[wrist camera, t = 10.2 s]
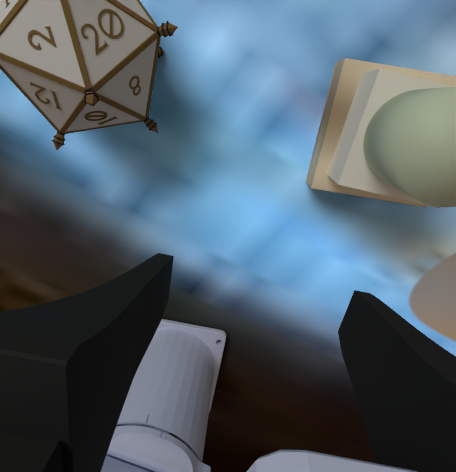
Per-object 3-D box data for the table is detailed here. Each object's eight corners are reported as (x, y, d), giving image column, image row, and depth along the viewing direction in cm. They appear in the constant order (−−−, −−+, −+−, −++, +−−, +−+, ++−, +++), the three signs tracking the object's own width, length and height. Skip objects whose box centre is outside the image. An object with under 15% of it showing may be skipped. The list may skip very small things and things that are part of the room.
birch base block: (406, 196, 22) (425, 207, 19) (304, 179, 22) (311, 188, 19) (449, 83, 19) (477, 80, 17) (333, 63, 19) (345, 58, 17)
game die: (131, 34, 22) (99, -183, 12) (200, 134, 21) (224, -12, 11) (1, 87, 19) (-169, -129, 10) (73, 201, 19) (-33, 90, 9)
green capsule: (440, 186, 16) (496, 211, 13) (354, 179, 16) (384, 202, 13) (472, 92, 15) (547, 90, 11) (375, 85, 15) (417, 81, 11)
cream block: (415, 195, 19) (438, 207, 17) (327, 174, 19) (337, 184, 17) (461, 97, 17) (495, 96, 15) (362, 73, 17) (380, 68, 14)
